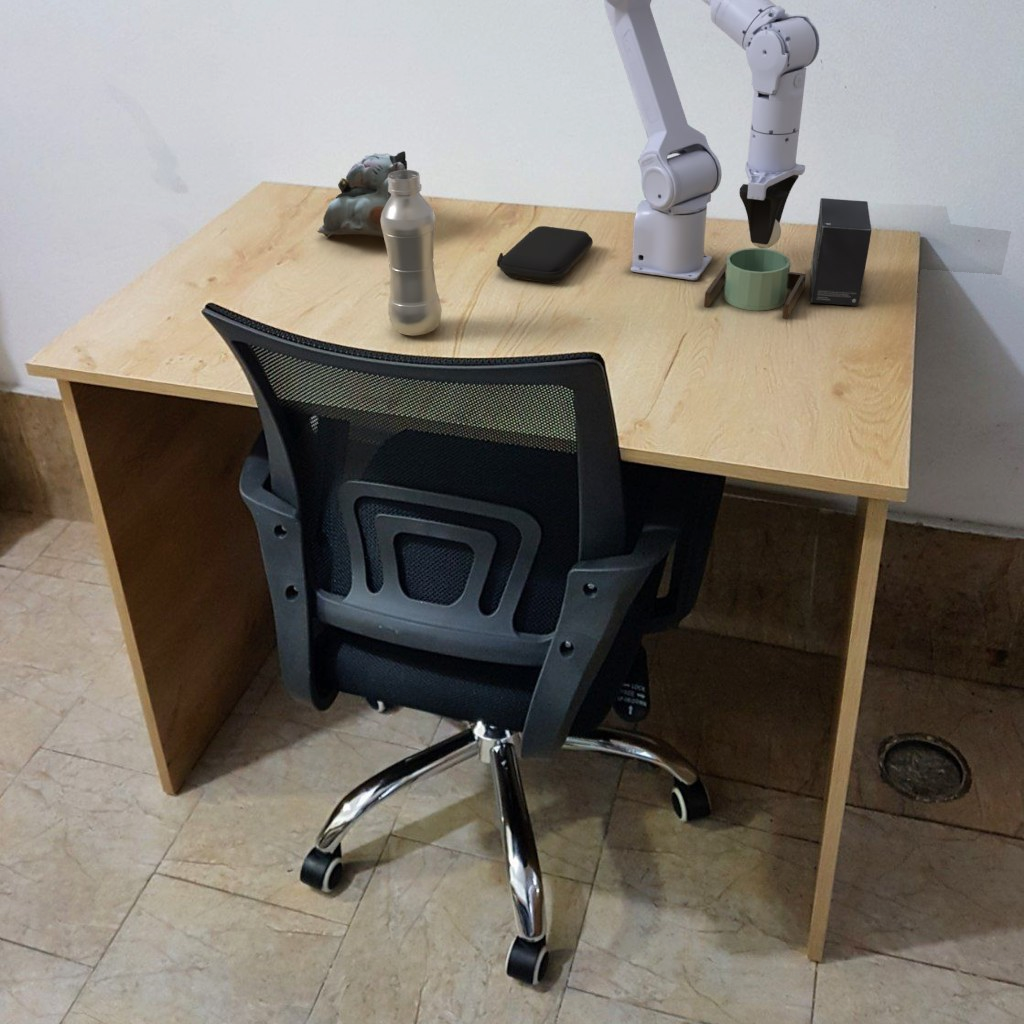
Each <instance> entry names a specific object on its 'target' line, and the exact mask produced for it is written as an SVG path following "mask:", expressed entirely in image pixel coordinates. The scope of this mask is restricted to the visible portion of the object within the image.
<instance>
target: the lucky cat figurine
mask: <svg viewBox="0 0 1024 1024" xmlns="http://www.w3.org/2000/svg"><path fill="white" fill-rule="evenodd" d="M406 158H407V157H406V151H405V150H404V151H403V150H402V151H400V152H397V154H396V155H392V154H389V153H373V154H370V155H365V156H364V158H362V159H361V160H360V161H358V162H356V163H354V164H353V165H352V166H351V168H350V169H349V170H348V172H347V174H346V176H345V177H344V178H343V177H342V178H340V180H339V182H338V184H337V187H338V189H339V190H340V192H341V193H339V194H337V195H336V197H335V199H333V200H332V201H330V202H329V204H328V207H327V209H326V211H325V212H324V215H323V219H322V220H323V225H321V226H320V227H319V228H318V230H316V232H317V233H318V234H323V235H324V236H325V237H329V236H331V235H364V236H370V237H380V238H384V235H383V231H382V227H381V221H380V219H381V214H382V211H383V209H384V207H385V205H386V203H387V201H388V200H389V198H390V197H391V193H389V191H388V186H389V184H388V175H389V174H390V173H392V172H394V171H399V170H408V162H407V160H406Z"/></svg>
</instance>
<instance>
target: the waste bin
mask: <svg viewBox="0 0 1024 1024" xmlns="http://www.w3.org/2000/svg"><path fill="white" fill-rule="evenodd" d="M791 263H792V262H791V259H790V257H788V255H786V254H785V253H783V252H780V251H778V250H775V249H770V248H759V247H751V248H750V247H749V248H741V249H737V250H734V251H733V252H731V253H729V254H728V256H727V257H726V261H725V264H726V271H725V283H724V285H723V298H724V300H725V302H726V303H728V304H729V305H731V306H733V307H735V308H737V309H741V310H747V311H757V312H758V311H759V312H760V311H769V310H775V309H777V308H779V307H781V306H784V304H785V302H786V300H787V297H788V289H789V287H788V281H789V273H790V272H791Z"/></svg>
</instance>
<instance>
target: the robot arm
mask: <svg viewBox="0 0 1024 1024" xmlns="http://www.w3.org/2000/svg"><path fill="white" fill-rule="evenodd" d="M652 1H653V0H603V5H604V9H605V12H606V15H607V19H608V22H609V25H610V28H611V31H612V34H613V37H614V40H615V44H616V46H617V49H618V52H619V55H620V58H621V61H622V64H623V69H624V70H625V73H626V76H627V80H628V83H629V86H630V89H631V91H632V95H633V98H634V102H635V105H636V107H637V110H638V113H639V116H640V119H641V122H642V125H643V129H644V131H645V134H646V137H647V141H646V144H645V146H644V147H643V150H642V151H641V153H640V154H639V156H638V158H637V162H638V163H637V164H638V165H639V170H640V174H641V181H640V182H641V190H642V193H643V196H644V198H645V199H642V200H641V201H640V202H639V204H638V206H637V208H636V211H635V215H634V218H633V219H634V220H633V227H632V228H633V230H632V231H633V232H632V233H633V234H632V260H631V261H632V265H631V267H630V271H631V272H634V273H637V274H638V273H639V274H646V275H653V276H659V277H660V276H661V277H668V278H675V279H680V280H688V281H697V280H698V279H699V278H700V277H701V275H702V274H703V273H704V271H705V270H706V269H707V267H708V265H709V264H710V263H711V261H712V259H713V257H712V255H707V254H704V253H705V240H706V239H705V238H706V228H707V227H706V225H707V211H708V203H710V202H711V201H712V200H711V198H712V194H713V193H714V192H716V191H717V190H718V188H719V186H720V184H721V182H722V174H723V173H722V166H721V163H720V160H719V158H718V157H717V155H716V154H715V152H713V150H712V148H711V147H710V145H709V143H708V140H707V137H706V135H705V134H704V133H702V132H701V131H699V130H697V129H696V128H694V127H692V126H691V125H690V124H689V123H688V120H687V117H686V114H685V111H684V108H683V105H682V102H681V99H680V96H679V93H678V89H677V86H676V83H675V80H674V77H673V73H672V70H671V68H670V65H669V62H668V58H667V55H666V51H665V49H664V45H663V43H662V39H661V37H660V33H659V29H658V28H657V24H656V21H655V18H654V15H653V12H652V8H651V4H652ZM701 1H702V2H703V3H705V4H706V5H708V6H709V7H710V19H711V22H712V23H713V24H714V25H715V26H716V27H717V28H718V29H719V30H721V31H722V32H723V33H724V34H725V35H727V36H728V37H729V38H730V39H731V40H732V41H734V43H736V44H737V45H738V46H739V47H740V48H741V49H743V50H744V51H745V55H746V61H747V64H748V67H749V69H750V71H751V86H752V88H753V89H752V90H753V98H752V108H751V109H752V111H751V119H750V132H749V140H748V141H749V143H748V155H747V161H746V163H745V169H744V170H745V173H746V177H747V179H748V183H742V185H741V186H740V187H739V192H738V193H739V198H740V199H741V202H742V204H743V206H744V209H745V212H746V216H747V222H748V232H749V231H750V237H751V240H750V242H751V243H752V244H753V243H758V244H768V243H769V240H770V238H771V235H772V232H773V228H774V224H775V220H777V221H778V222H779V224H780V222H781V220H782V216H783V212H784V209H785V207H786V203H787V200H788V199H789V196H790V193H791V191H792V189H793V187H794V186H795V183H796V182H797V180H798V179H799V177H800V176H802V175H804V173H805V172H806V165H805V164H799V163H797V162H796V161H797V153H798V146H799V145H798V144H799V136H800V128H801V120H802V119H801V118H802V110H803V100H804V91H805V85H806V84H805V82H806V75H807V67H809V66H810V65H812V64H813V62H814V61H815V60H816V59H817V57H818V54H819V51H820V36H819V31H818V29H817V27H816V25H815V24H814V23H813V22H812V21H811V19H810V18H809V17H808V15H805V14H795V15H791V14H789V13H787V12H786V9H785V8H784V7H782V6H781V5H776V4H775V3H773V1H771V0H701ZM673 154H674V156H671V157H668V156H670V155H673ZM675 154H677V155H675Z"/></svg>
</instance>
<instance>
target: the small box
mask: <svg viewBox="0 0 1024 1024" xmlns="http://www.w3.org/2000/svg"><path fill="white" fill-rule="evenodd" d="M816 225H817V226H816V231H815V239H814V245H813V251H812V257H811V263H810V269H809V301H810V303H811V304H826V305H839V306H840V305H841V306H856V307H858V306H859V305H860V304H859V303H860V298H861V293H862V290H863V284H864V278H865V271H866V266H867V262H868V261H867V260H868V255H869V248H870V244H871V236H872V229H873V228H872V224H871V217H870V210H869V202H868V201H866V200H854V199H852V200H851V199H840V198H839V199H838V198H827V197H821V198H820V200H819V209H818V219H817V224H816Z"/></svg>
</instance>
